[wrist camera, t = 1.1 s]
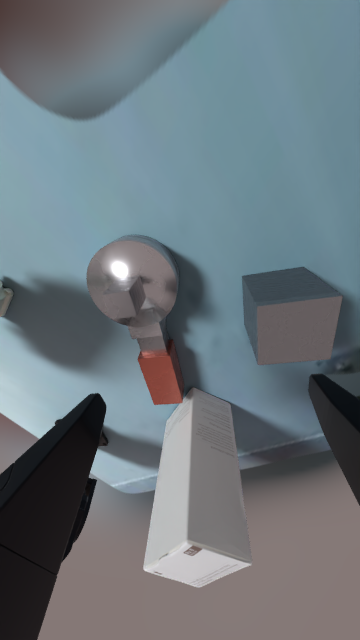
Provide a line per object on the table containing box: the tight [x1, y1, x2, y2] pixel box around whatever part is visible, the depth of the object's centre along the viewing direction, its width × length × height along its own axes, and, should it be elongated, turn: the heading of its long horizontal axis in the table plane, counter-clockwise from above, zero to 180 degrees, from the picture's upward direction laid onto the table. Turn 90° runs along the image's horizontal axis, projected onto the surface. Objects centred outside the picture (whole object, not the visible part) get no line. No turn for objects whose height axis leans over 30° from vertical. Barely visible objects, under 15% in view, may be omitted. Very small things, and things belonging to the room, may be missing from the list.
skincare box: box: [143, 387, 253, 587], centre depth 23 cm, size 8×6×15 cm
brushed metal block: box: [242, 267, 343, 365], centre depth 18 cm, size 5×5×6 cm
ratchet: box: [87, 235, 184, 405], centre depth 21 cm, size 19×8×6 cm, turn 11°
